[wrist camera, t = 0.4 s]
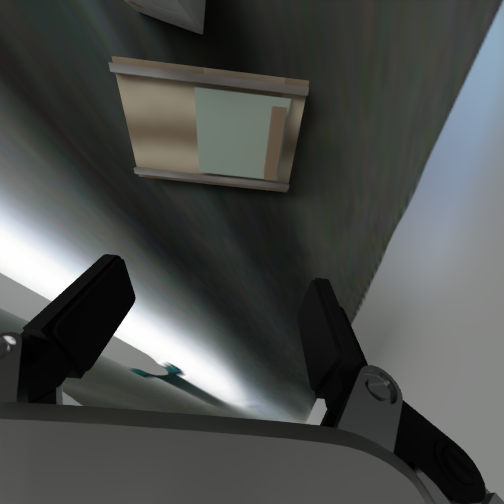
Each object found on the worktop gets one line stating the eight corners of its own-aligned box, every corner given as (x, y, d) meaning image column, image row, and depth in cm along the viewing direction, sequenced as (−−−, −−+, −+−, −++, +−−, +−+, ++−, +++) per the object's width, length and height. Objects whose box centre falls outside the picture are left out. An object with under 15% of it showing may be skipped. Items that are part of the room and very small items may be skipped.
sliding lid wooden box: (125, 61, 26) (106, 54, 23) (304, 83, 27) (310, 79, 24) (147, 171, 34) (136, 178, 31) (284, 186, 35) (287, 194, 32)
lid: (196, 87, 25) (184, 83, 21) (290, 99, 25) (295, 97, 21) (200, 170, 31) (191, 179, 27) (276, 178, 31) (279, 188, 27)
